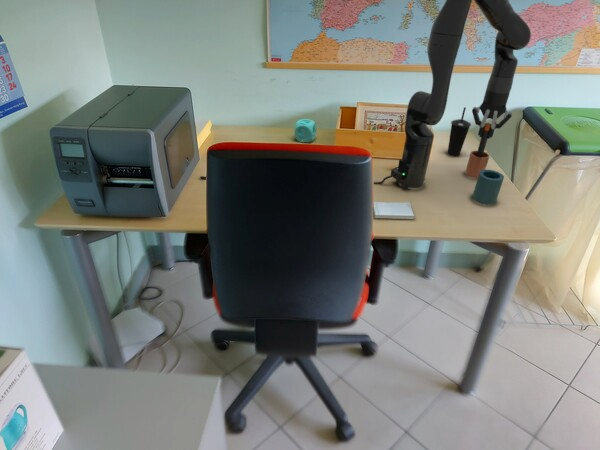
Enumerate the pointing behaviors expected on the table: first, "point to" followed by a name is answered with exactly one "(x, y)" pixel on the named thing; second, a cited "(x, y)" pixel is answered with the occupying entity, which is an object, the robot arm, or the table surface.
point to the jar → (488, 186)
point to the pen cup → (476, 164)
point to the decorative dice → (305, 130)
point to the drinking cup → (458, 135)
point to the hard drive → (393, 210)
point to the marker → (483, 140)
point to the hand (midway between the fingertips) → (484, 137)
